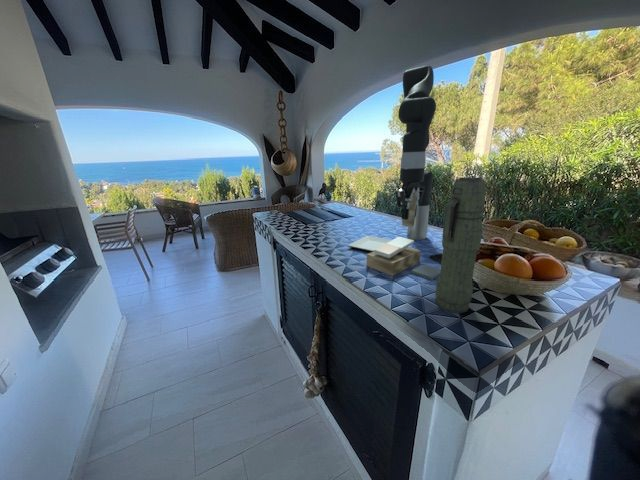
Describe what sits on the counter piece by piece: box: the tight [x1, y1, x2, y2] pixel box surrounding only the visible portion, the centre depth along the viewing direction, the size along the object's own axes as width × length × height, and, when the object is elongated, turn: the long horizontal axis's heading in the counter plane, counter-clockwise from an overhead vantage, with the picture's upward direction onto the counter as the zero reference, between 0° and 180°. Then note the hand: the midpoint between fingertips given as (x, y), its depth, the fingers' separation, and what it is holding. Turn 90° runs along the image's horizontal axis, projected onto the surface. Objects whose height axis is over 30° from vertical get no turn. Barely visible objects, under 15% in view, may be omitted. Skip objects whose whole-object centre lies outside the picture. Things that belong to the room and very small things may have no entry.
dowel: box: [401, 191, 417, 228], centre depth 88 cm, size 4×4×12 cm
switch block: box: [366, 246, 421, 277], centre depth 100 cm, size 18×12×6 cm, turn 130°
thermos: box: [434, 177, 487, 314], centre depth 67 cm, size 9×12×35 cm
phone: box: [429, 252, 443, 265], centre depth 100 cm, size 8×1×15 cm
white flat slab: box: [374, 236, 415, 258], centre depth 98 cm, size 16×7×1 cm, turn 130°
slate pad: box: [410, 264, 441, 281], centre depth 92 cm, size 8×8×1 cm
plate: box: [347, 235, 393, 253], centre depth 120 cm, size 19×19×2 cm
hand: (408, 217), depth 89 cm, fingers closed on dowel, 4 cm apart
